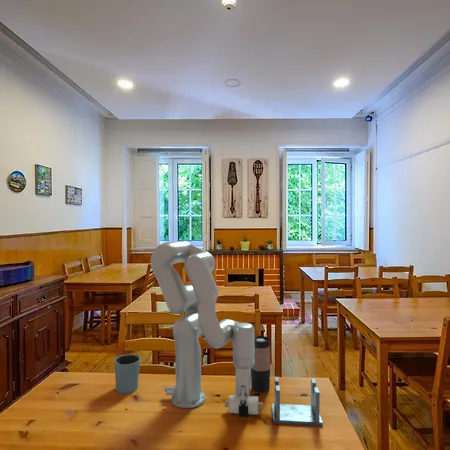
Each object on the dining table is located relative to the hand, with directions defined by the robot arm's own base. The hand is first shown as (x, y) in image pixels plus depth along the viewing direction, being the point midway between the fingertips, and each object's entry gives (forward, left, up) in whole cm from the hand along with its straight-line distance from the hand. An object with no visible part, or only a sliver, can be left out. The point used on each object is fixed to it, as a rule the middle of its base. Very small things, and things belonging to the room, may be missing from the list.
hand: (244, 409), depth 118 cm
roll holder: (+18, 0, -1) cm, 18 cm away
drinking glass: (-47, +13, -2) cm, 49 cm away
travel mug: (+6, +18, -2) cm, 19 cm away
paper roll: (0, 0, -1) cm, 1 cm away
